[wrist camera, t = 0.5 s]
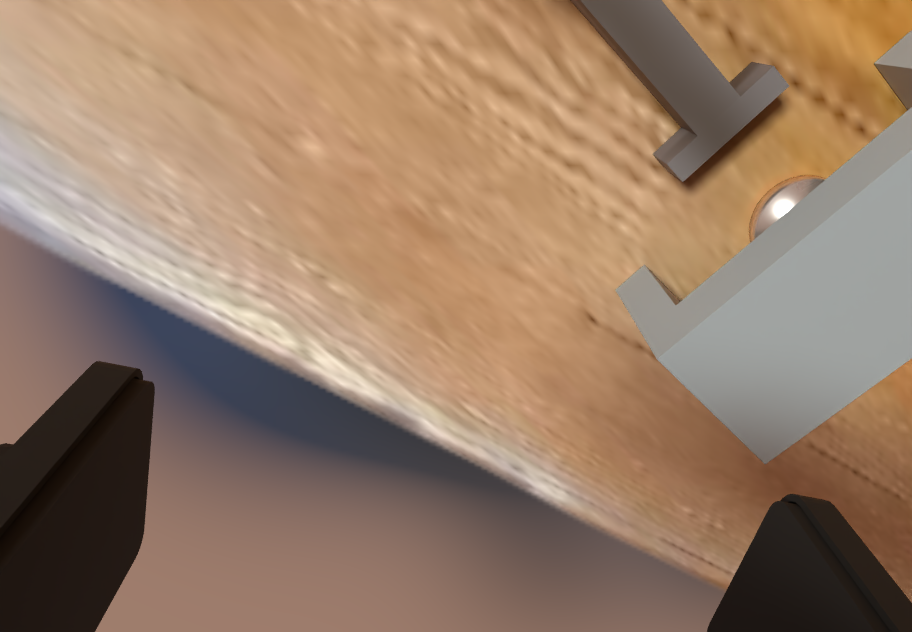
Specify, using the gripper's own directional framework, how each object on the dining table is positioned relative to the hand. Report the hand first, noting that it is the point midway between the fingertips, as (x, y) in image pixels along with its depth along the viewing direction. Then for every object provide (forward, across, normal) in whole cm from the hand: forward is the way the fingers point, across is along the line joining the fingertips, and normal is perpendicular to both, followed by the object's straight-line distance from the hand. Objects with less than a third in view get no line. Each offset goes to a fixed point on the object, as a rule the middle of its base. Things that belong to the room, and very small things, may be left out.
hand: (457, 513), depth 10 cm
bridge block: (+26, -18, -1) cm, 32 cm away
